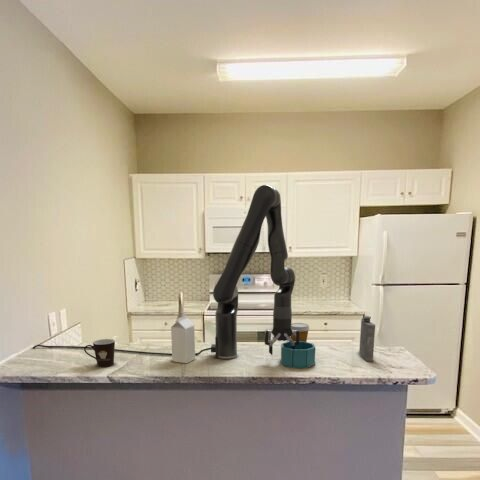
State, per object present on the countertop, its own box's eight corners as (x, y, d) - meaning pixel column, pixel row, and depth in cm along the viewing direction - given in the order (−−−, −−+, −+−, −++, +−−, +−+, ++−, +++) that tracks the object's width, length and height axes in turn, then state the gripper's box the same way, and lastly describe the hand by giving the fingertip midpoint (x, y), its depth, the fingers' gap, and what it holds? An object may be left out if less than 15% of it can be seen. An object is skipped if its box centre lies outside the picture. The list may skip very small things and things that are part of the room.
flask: (364, 361, 171) (367, 320, 167) (356, 351, 185) (359, 313, 181) (373, 361, 171) (376, 320, 167) (364, 351, 185) (367, 313, 181)
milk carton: (195, 359, 175) (194, 316, 171) (186, 363, 169) (185, 319, 165) (181, 357, 178) (179, 314, 174) (172, 361, 172) (170, 317, 168)
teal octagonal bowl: (282, 368, 163) (283, 350, 162) (279, 357, 176) (280, 341, 175) (316, 368, 163) (317, 350, 161) (311, 358, 176) (311, 341, 175)
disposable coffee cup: (308, 347, 192) (308, 322, 190) (309, 353, 183) (310, 327, 181) (287, 347, 193) (288, 322, 191) (288, 352, 184) (288, 327, 182)
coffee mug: (120, 362, 170) (119, 339, 168) (107, 369, 162) (106, 345, 160) (97, 360, 174) (95, 337, 172) (84, 366, 166) (82, 342, 164)
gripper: (298, 314, 169) (297, 351, 173) (264, 314, 169) (264, 351, 173) (300, 318, 162) (299, 357, 165) (265, 318, 162) (265, 357, 166)
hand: (281, 354), depth 169 cm, fingers open, 8 cm apart
